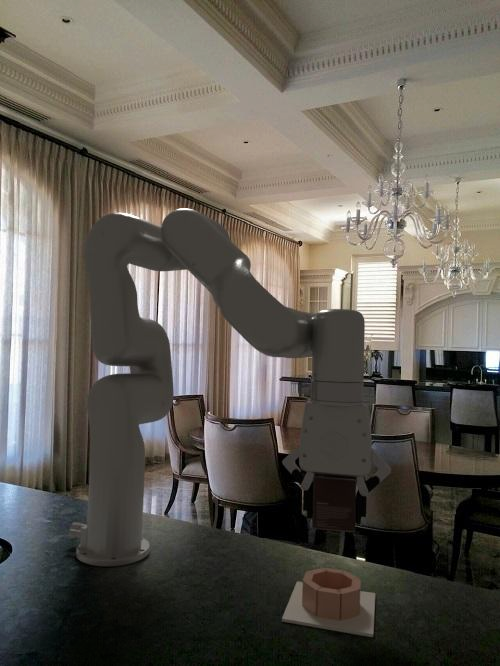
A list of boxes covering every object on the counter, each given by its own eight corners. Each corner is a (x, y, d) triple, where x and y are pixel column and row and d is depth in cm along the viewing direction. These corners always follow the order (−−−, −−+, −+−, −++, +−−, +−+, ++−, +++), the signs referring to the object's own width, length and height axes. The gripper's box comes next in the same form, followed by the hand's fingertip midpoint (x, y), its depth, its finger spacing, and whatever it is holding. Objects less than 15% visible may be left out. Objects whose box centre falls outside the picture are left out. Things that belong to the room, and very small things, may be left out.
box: (355, 534, 69) (356, 479, 70) (311, 529, 71) (312, 476, 71) (355, 520, 75) (356, 470, 76) (314, 516, 77) (315, 467, 77)
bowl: (299, 613, 70) (299, 587, 70) (307, 588, 77) (308, 565, 78) (358, 623, 68) (358, 597, 68) (361, 597, 75) (361, 573, 75)
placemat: (281, 621, 68) (281, 618, 68) (297, 583, 80) (297, 581, 80) (373, 637, 65) (373, 634, 65) (375, 595, 77) (375, 593, 77)
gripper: (273, 392, 73) (270, 519, 72) (399, 398, 68) (397, 534, 67) (284, 390, 80) (280, 505, 79) (398, 395, 75) (396, 518, 74)
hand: (334, 517), depth 73 cm, fingers closed on box, 6 cm apart
